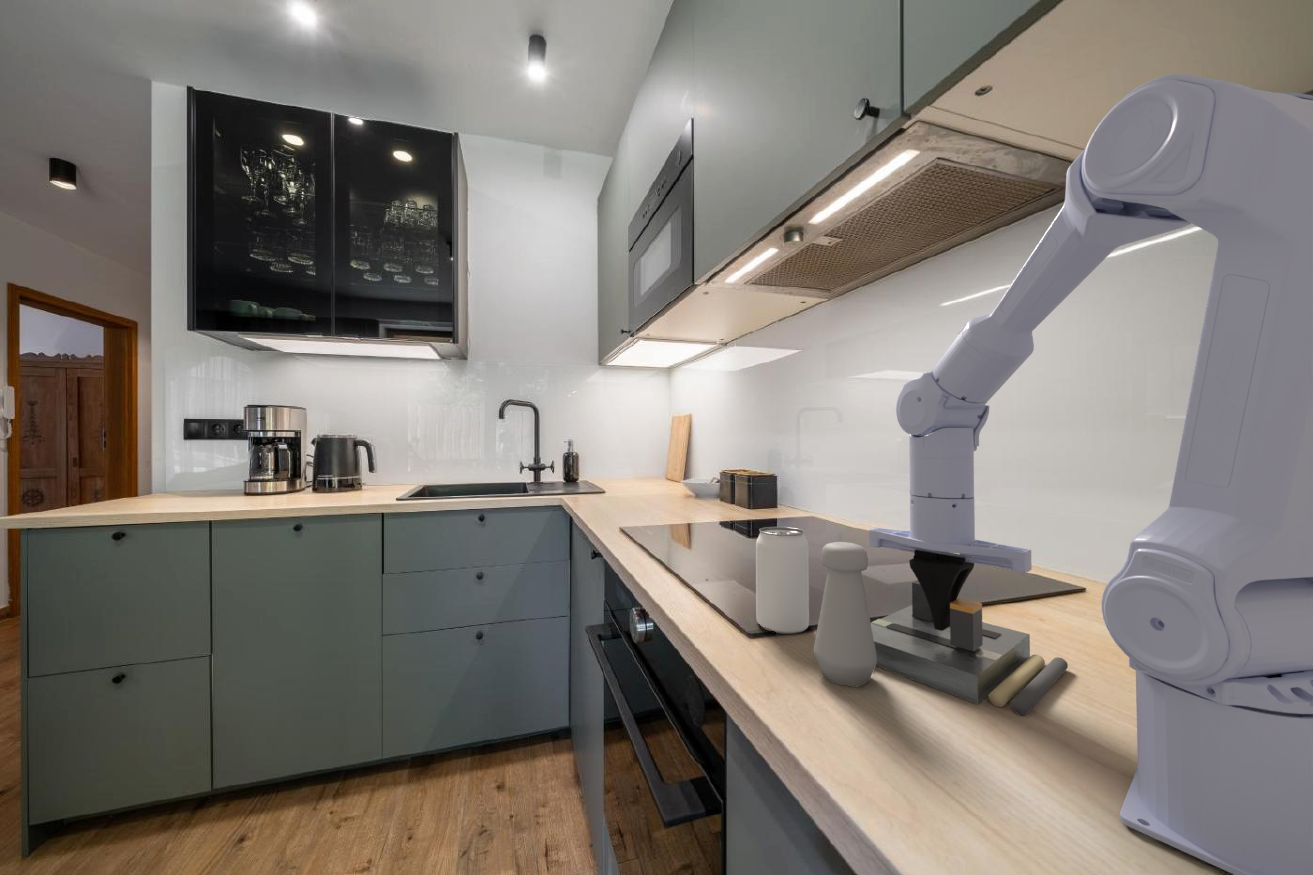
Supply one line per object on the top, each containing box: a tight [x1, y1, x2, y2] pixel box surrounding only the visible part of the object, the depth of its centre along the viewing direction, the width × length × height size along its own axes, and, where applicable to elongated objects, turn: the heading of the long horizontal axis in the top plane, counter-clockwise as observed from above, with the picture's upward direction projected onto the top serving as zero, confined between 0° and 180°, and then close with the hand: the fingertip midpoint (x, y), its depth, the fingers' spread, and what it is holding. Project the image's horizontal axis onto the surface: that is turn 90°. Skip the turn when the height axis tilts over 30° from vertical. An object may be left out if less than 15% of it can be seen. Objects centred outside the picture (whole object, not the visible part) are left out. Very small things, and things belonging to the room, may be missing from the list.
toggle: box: [950, 598, 983, 651], centre depth 47 cm, size 2×2×4 cm
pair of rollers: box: [988, 654, 1069, 716], centre depth 44 cm, size 3×14×1 cm, turn 128°
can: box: [755, 526, 810, 635], centre depth 59 cm, size 6×6×12 cm
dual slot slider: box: [870, 580, 1031, 705], centre depth 50 cm, size 12×15×7 cm
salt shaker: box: [813, 541, 877, 688], centre depth 46 cm, size 6×6×13 cm
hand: (942, 627), depth 48 cm, fingers closed
